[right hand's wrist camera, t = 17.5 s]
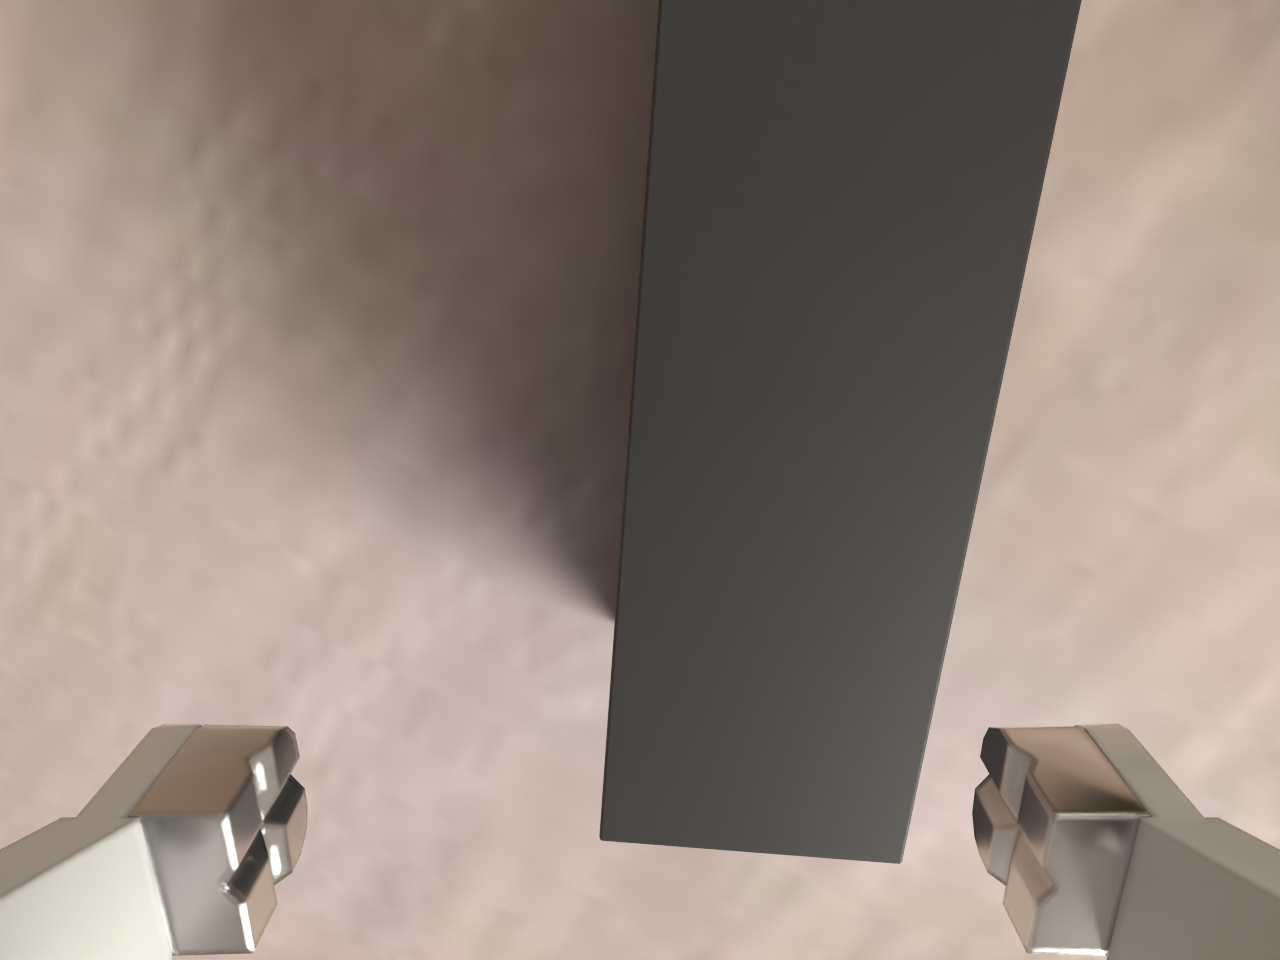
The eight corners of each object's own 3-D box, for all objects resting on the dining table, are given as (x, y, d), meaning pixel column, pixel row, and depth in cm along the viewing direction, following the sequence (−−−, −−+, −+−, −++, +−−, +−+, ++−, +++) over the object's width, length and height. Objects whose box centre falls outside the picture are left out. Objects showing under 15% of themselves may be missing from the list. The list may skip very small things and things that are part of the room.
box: (826, 644, 26) (902, 865, 17) (620, 628, 26) (598, 841, 17) (1008, -503, 17) (1313, -1102, 9) (704, -526, 17) (740, -1144, 9)
